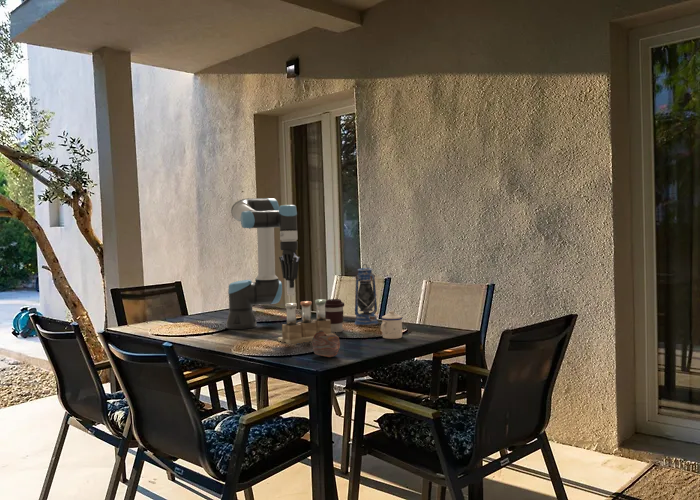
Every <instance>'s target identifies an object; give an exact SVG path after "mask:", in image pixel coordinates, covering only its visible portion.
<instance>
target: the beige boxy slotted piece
mask: <svg viewBox="0 0 700 500" xmlns="http://www.w3.org/2000/svg"><path fill="white" fill-rule="evenodd" d="M320 330H323V331H324V333H326V334H327V335H331V334H334V335H336V336H337V333H331V320H328V319H326V320H325V321H317V318H316V319H311V323H302V321H296V325H292V326H288V325H287V323H285V324H284V323H282V324H281V335H282V336H279V337H277V341H278V342H280V341H281V343H284V342H286V343H285V344H288V343H290V344H289V345H293V344H294V345H298V344H297V343H300V344H304V343H303V342H305V343H309V341H311V342H312V339H313V337H314V335H315V334H316V333H317V332H319V331H320Z"/></svg>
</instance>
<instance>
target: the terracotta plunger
mask: <svg viewBox="0 0 700 500" xmlns="http://www.w3.org/2000/svg"><path fill="white" fill-rule="evenodd" d="M312 303H313V302H312V301H311V300H310V301H309V300H306V301H305V300H304V301H300V306H301V322H302V323H311V321H312V305H313V304H312Z"/></svg>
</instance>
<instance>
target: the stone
mask: <svg viewBox="0 0 700 500" xmlns="http://www.w3.org/2000/svg"><path fill="white" fill-rule="evenodd" d="M334 334H335V333H334ZM334 334H331V335H327V334H326V333H324V331H323V330H320V331H319V332H317V333H316V334H315V335H314V337H313V339H312V341H311V345H312V350H313V353H314V354H315V355H317V356H321V357H324V358H326V357H327V358H332V357H333V358H334V357H335V356H337V355H338V353H339V350H340V347H341V342H340V337H339V336H338V335H337V334H336V335H334Z"/></svg>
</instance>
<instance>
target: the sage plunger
mask: <svg viewBox="0 0 700 500" xmlns="http://www.w3.org/2000/svg"><path fill="white" fill-rule="evenodd" d="M326 300H327V299H324V298H322V299H315V300H314V304H315V307H316V308H315V309H316V319H317V321H325V320H326V315H325V303H326Z"/></svg>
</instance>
